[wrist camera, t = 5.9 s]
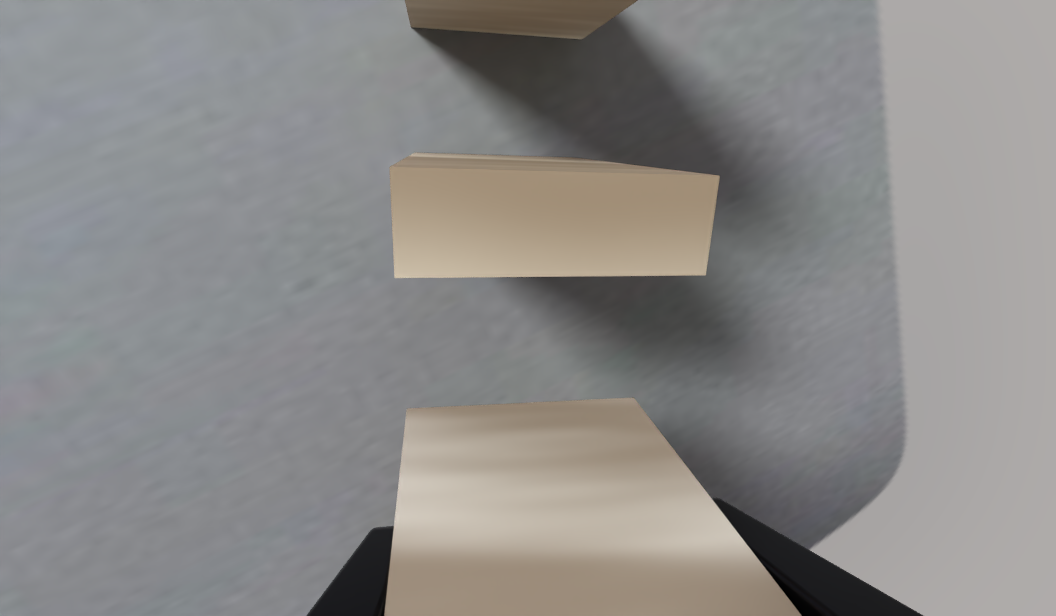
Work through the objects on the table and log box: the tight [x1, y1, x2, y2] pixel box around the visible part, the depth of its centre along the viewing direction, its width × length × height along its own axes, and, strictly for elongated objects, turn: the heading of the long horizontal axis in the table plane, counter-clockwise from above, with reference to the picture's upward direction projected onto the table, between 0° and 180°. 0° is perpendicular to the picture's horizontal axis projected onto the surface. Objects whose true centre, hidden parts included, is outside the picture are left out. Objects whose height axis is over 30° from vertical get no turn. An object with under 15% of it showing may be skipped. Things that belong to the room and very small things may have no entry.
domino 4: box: [390, 153, 720, 278], centre depth 12 cm, size 2×5×9 cm, turn 88°
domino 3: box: [384, 398, 802, 616], centre depth 7 cm, size 2×5×9 cm, turn 88°
